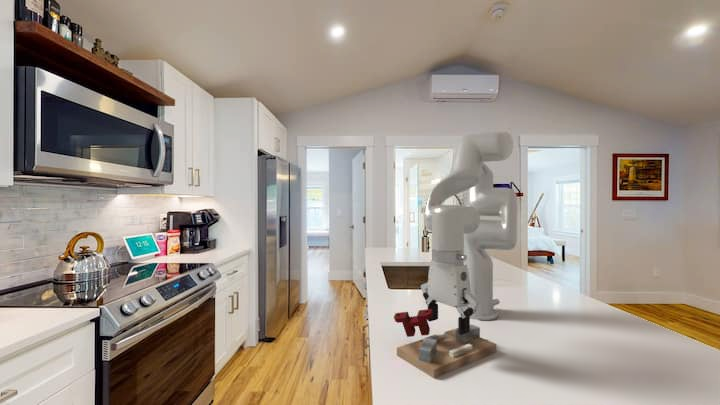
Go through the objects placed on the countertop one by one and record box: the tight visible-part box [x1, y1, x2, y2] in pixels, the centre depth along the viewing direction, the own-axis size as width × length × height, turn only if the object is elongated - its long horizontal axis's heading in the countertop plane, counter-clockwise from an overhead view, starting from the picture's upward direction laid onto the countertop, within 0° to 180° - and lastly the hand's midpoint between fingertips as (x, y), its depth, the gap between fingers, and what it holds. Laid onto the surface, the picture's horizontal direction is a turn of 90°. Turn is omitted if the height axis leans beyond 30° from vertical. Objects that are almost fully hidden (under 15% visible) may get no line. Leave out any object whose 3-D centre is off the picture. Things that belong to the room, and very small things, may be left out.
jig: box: [396, 324, 497, 379], centre depth 77 cm, size 22×12×4 cm, turn 123°
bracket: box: [393, 308, 433, 338], centre depth 81 cm, size 3×6×10 cm
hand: (447, 326), depth 77 cm, fingers open, 9 cm apart
